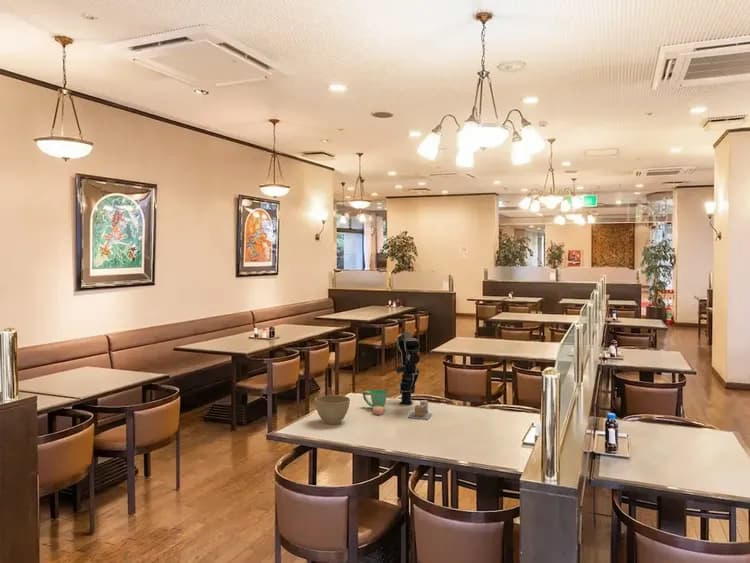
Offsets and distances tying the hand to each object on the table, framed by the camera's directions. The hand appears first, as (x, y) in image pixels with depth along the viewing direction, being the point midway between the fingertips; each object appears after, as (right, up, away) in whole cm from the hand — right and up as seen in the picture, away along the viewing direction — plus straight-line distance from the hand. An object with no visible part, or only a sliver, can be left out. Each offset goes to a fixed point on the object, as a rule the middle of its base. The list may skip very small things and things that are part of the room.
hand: (410, 388), depth 321 cm
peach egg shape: (-18, -12, -9) cm, 24 cm away
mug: (-20, -12, +2) cm, 24 cm away
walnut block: (+4, -12, -13) cm, 18 cm away
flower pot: (-42, -13, -25) cm, 51 cm away
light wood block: (+7, -12, -4) cm, 15 cm away
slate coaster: (+4, -13, -13) cm, 19 cm away
